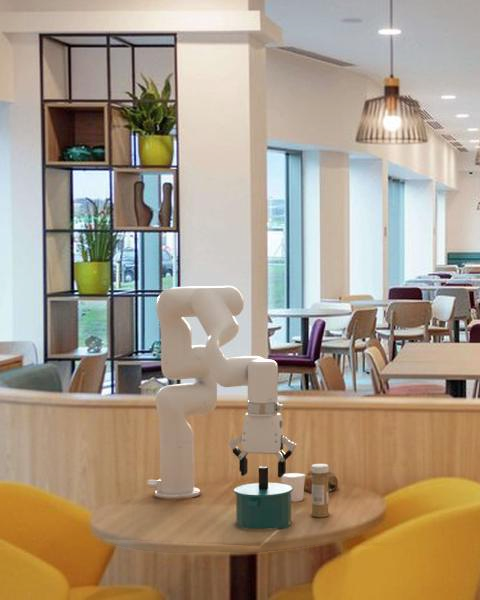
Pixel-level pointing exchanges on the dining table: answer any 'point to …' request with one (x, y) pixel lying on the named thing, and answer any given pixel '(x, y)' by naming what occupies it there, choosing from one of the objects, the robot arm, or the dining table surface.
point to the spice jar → (320, 490)
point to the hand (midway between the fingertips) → (262, 475)
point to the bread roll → (331, 481)
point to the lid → (263, 487)
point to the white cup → (294, 485)
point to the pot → (263, 512)
